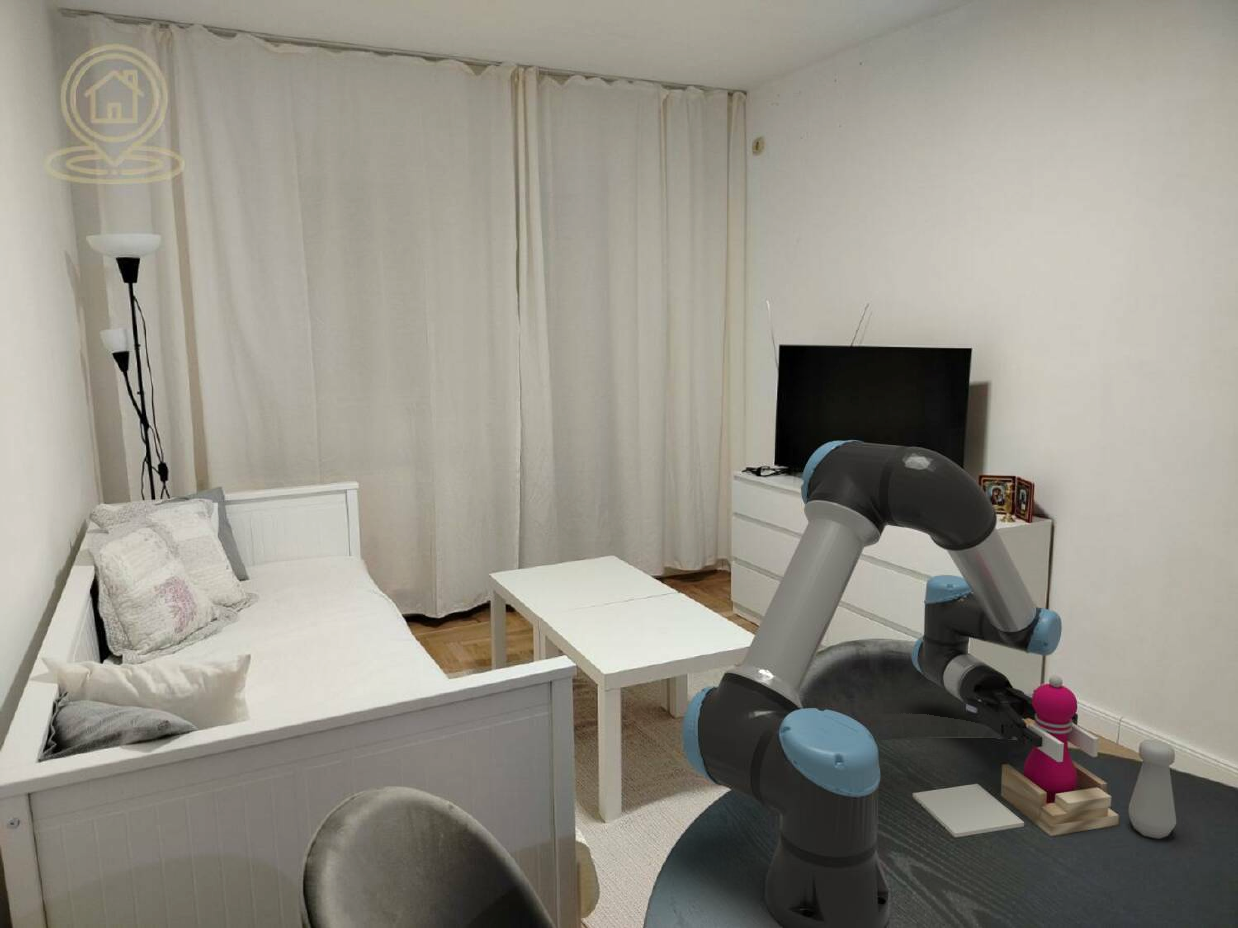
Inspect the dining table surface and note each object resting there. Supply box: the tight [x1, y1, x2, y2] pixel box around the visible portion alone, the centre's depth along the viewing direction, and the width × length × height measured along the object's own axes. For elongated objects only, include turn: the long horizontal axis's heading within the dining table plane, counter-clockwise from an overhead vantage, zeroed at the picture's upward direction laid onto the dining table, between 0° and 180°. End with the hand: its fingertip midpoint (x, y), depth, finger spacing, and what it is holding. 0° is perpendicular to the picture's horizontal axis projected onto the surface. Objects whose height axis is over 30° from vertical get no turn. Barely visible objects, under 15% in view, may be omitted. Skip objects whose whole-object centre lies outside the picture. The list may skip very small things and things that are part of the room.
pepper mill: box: [1022, 674, 1078, 804], centre depth 130 cm, size 7×7×20 cm
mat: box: [912, 783, 1025, 838], centre depth 130 cm, size 11×11×1 cm
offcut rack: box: [1000, 759, 1120, 837], centre depth 130 cm, size 11×11×5 cm
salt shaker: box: [1128, 739, 1177, 840], centre depth 123 cm, size 6×6×13 cm
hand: (1078, 750), depth 125 cm, fingers closed on pepper mill, 5 cm apart
